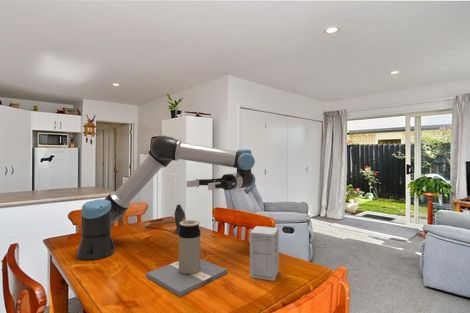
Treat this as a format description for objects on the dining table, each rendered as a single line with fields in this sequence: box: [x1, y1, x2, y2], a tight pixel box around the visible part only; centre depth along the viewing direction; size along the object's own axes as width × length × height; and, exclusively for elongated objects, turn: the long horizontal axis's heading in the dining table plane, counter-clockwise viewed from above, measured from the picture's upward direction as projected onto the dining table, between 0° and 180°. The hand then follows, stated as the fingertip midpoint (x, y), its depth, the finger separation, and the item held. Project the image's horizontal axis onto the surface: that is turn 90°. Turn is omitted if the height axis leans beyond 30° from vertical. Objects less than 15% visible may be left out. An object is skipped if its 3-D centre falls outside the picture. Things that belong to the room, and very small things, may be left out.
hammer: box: [144, 204, 187, 235], centre depth 155 cm, size 6×16×30 cm
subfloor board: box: [145, 258, 228, 297], centre depth 98 cm, size 20×22×2 cm
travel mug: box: [178, 219, 201, 274], centre depth 98 cm, size 8×8×18 cm
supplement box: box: [249, 225, 280, 282], centre depth 99 cm, size 10×9×17 cm
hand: (197, 185), depth 110 cm, fingers open, 13 cm apart
